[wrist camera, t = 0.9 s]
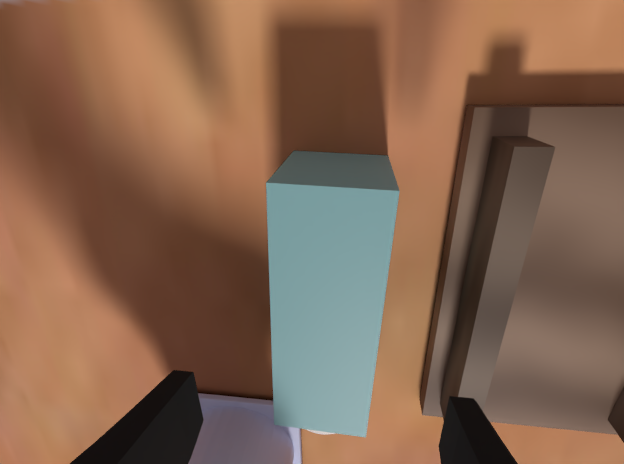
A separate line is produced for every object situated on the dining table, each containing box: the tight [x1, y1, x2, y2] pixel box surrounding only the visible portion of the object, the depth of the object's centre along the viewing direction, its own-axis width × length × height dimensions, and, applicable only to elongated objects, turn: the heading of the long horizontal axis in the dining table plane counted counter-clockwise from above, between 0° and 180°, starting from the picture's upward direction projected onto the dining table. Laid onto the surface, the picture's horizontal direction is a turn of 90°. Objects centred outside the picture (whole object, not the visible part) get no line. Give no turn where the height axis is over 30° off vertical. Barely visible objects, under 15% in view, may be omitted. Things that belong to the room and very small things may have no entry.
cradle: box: [420, 104, 624, 442], centre depth 15 cm, size 16×11×3 cm
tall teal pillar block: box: [266, 151, 399, 437], centre depth 15 cm, size 12×4×5 cm, turn 179°
